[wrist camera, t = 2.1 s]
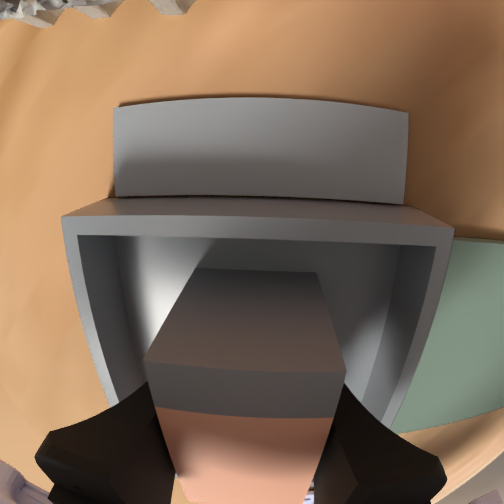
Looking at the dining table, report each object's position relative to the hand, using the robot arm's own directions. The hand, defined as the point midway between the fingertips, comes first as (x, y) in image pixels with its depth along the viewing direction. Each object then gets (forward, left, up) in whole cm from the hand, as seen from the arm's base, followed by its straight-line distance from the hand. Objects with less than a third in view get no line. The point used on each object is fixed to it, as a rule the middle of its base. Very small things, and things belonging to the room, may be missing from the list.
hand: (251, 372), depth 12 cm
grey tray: (0, 0, -2) cm, 2 cm away
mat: (0, -14, -2) cm, 14 cm away
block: (0, 0, -1) cm, 1 cm away
